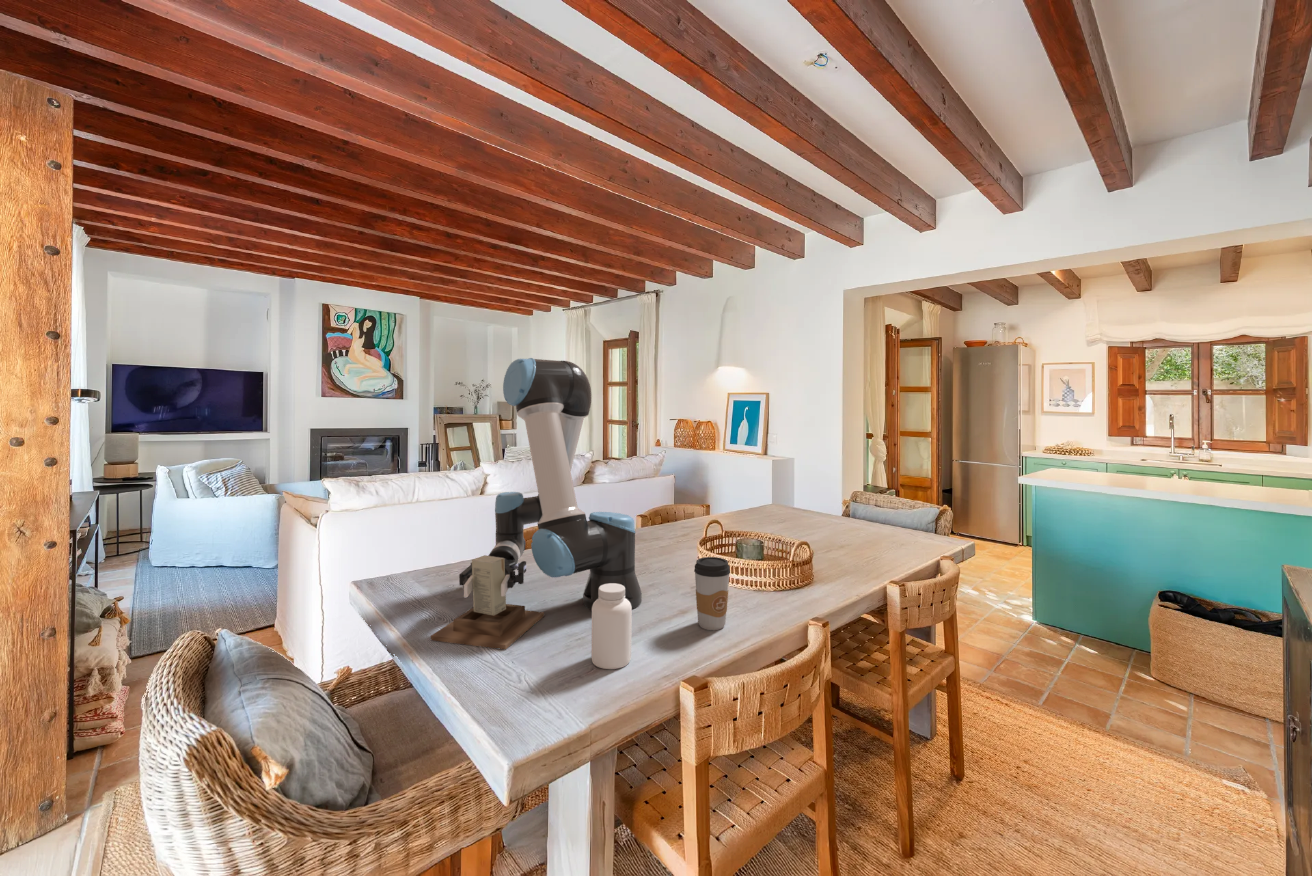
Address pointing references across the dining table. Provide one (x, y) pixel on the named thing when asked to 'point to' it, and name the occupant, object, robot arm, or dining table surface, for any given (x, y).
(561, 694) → the dining table surface
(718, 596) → the coffee cup
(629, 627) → the pill bottle
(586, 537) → the robot arm
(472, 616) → the socket holder
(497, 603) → the skincare box
